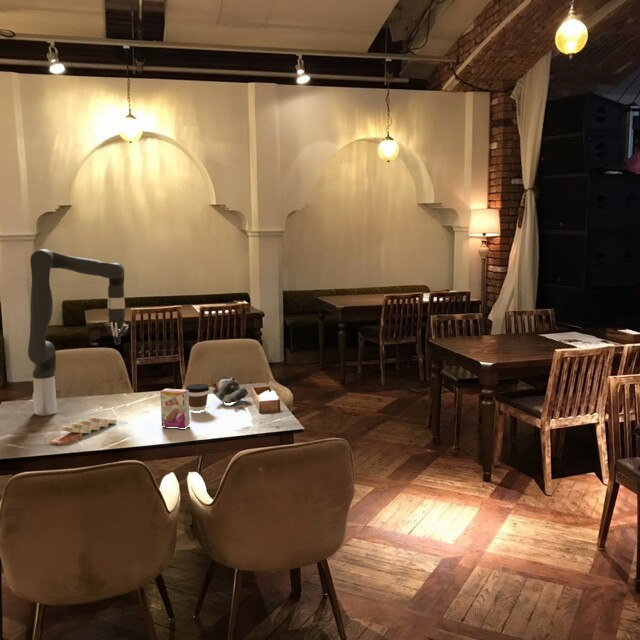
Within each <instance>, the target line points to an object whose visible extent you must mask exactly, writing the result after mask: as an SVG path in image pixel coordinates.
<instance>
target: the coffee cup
mask: <svg viewBox="0 0 640 640" xmlns="http://www.w3.org/2000/svg"><path fill="white" fill-rule="evenodd" d="M184 390H189V411H191V410H193V411H200V410H204V409H205V408H206V407H207V403H208V395H209V394H208V391H210V387H209V385H207V384H205V383H194V384H189V385H187V386H186V387H185V388H184ZM205 410H206V409H205Z"/></svg>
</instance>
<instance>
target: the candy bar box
mask: <svg viewBox="0 0 640 640" xmlns="http://www.w3.org/2000/svg"><path fill="white" fill-rule="evenodd" d="M160 410H161V411H160V412H161V413H160V415H161V416H160V417H161V427H162V426H165V427H178V428H185V427H187V426H188V425H189V424H190V423H191V422H190V421H191V420H190V406H189V390H185V389H176V388H164V389H162V390H160Z"/></svg>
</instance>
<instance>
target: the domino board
mask: <svg viewBox="0 0 640 640" xmlns="http://www.w3.org/2000/svg"><path fill="white" fill-rule="evenodd" d="M111 419H112V418H111ZM112 420H114V419H112ZM116 420H117V422H116V424H111V423H108V427H100V429H99V430H91V433H82V437H80V438H79V439H82V440H88V439H90V438H92V437H96V436H97V435H100V434H103V433H105V432H108V431H110V430H113V429H116V428H118V427H122V426H124V425H126V424H129V423H130V421H125V420H118V419H116Z"/></svg>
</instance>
